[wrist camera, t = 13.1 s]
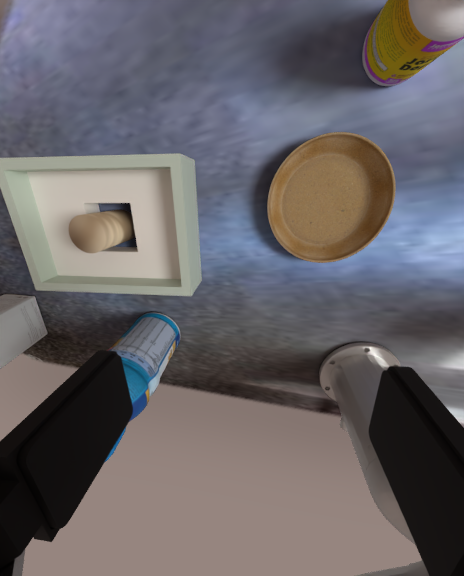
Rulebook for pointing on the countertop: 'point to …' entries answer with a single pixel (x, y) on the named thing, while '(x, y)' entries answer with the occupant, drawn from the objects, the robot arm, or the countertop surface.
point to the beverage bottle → (146, 357)
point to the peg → (101, 230)
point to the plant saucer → (331, 197)
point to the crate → (84, 200)
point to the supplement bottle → (410, 37)
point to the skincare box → (18, 325)
